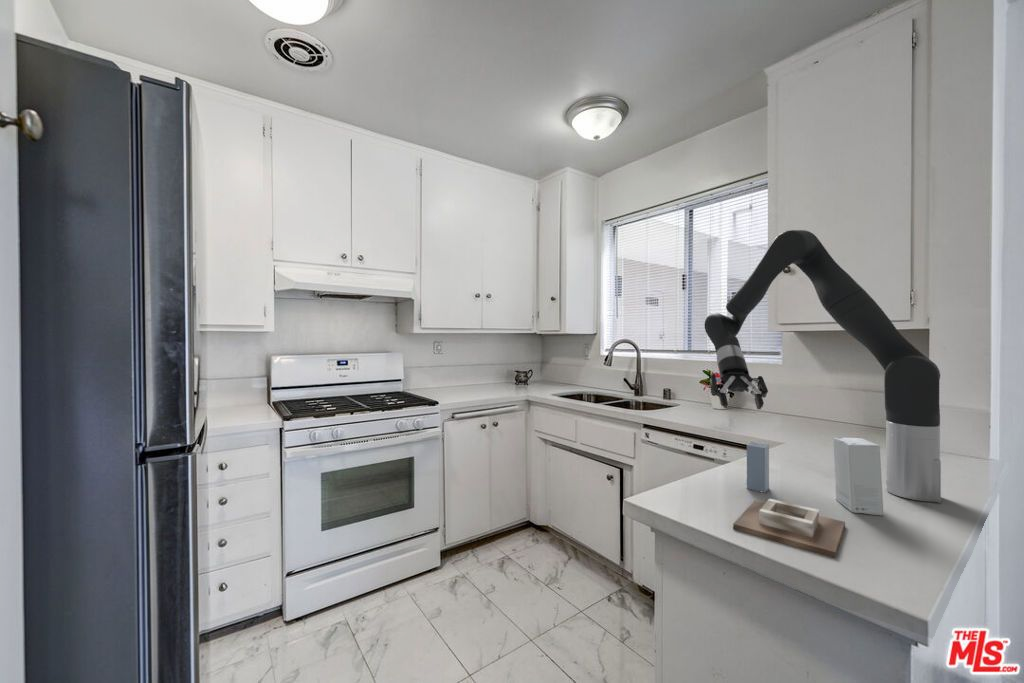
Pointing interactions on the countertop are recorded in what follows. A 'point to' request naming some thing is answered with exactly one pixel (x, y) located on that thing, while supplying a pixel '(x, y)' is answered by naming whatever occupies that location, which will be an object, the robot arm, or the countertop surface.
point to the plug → (758, 466)
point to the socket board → (792, 526)
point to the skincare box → (858, 475)
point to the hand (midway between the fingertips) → (742, 407)
